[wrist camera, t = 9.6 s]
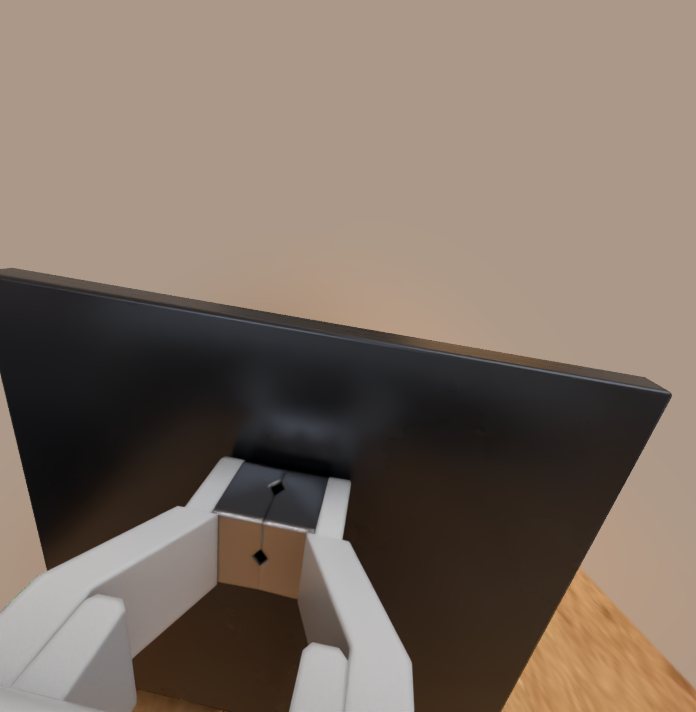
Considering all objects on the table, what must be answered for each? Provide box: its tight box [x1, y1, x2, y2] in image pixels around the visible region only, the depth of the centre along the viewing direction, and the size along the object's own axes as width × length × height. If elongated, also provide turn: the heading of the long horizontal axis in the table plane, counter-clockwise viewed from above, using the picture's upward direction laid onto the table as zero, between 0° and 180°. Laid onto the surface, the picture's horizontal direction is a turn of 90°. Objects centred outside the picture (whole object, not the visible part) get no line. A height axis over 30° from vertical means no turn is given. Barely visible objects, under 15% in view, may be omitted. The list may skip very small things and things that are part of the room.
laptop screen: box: [0, 268, 672, 712], centre depth 10 cm, size 14×14×1 cm
